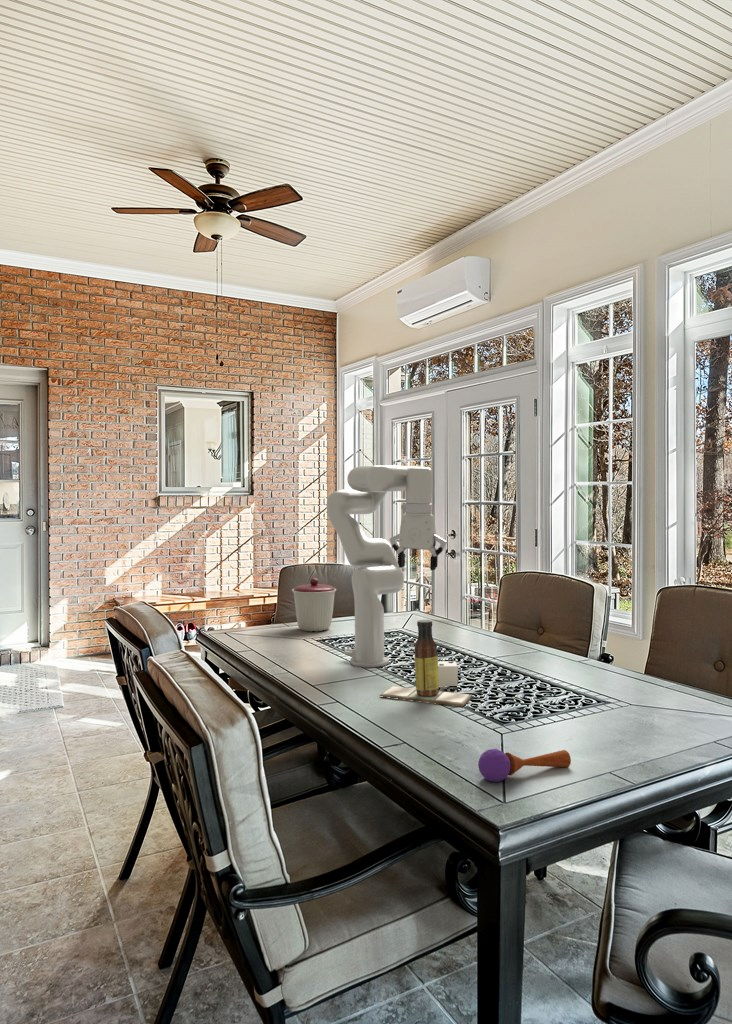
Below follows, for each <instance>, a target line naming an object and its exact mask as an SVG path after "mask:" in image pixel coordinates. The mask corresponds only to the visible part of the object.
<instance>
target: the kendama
mask: <svg viewBox="0 0 732 1024" xmlns="http://www.w3.org/2000/svg"><path fill="white" fill-rule="evenodd" d="M571 761H572V759H571V755H570V753H569V752H568V751H567V750H566V749H562V750H558V751H554V752H549V753H545V754H541V755H537V756H533V757H529V758H525V759H523V758H520V757H518V756H516V755H514V754H512V753H510V752H504V751H502V750H501V749H500V750H499V749H498V748H490V749H486V750H485V751H484V752H482V754H480V757H479V759H478V762H477V763H478V765H477V766H478V771H479V773H480V775H481V776H482V777H483V778H484V779H485V780H487V781H489V782H490V783H497V782H502V781H504V780H505V779H506V778H507V777H508V776H509V777H510V776H513V775H514V774H515V773H517V772H518V771H519V770H521V769H522V768H523V767H524V766H526V767H546V768H547V767H550V768H569V767H570V765H571Z"/></svg>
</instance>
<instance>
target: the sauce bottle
mask: <svg viewBox="0 0 732 1024" xmlns="http://www.w3.org/2000/svg"><path fill="white" fill-rule="evenodd" d="M416 622H417V623H416V626H417V633H418V634H417V635H418V636H417V640H416V641H415V643H414V670H415V671H414V672H415V674H414V675H415V689H416V691H417V694H418V695H420V696H435V695H437V694H438V693H439V689H440V687H439V676H438V661H439V659H438V655H439V654H438V647H437V644H436V641H435V640H434V637H433V628H432V627H433V620H431V619H420V620H417V621H416Z"/></svg>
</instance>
